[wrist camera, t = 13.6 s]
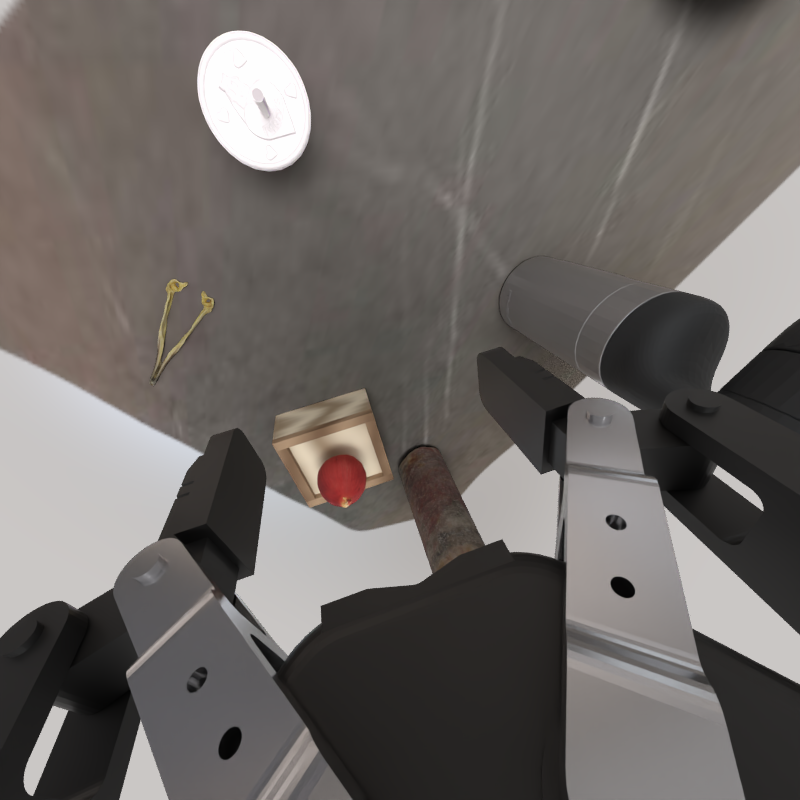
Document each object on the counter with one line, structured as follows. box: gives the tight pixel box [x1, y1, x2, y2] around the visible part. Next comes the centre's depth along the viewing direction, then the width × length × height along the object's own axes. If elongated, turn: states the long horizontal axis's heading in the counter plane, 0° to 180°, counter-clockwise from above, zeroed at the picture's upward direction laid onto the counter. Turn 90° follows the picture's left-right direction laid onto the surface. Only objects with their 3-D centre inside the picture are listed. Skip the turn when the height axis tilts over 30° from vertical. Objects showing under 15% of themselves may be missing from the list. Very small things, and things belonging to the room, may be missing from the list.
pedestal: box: [272, 388, 394, 507], centre depth 43 cm, size 12×12×6 cm
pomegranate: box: [317, 454, 367, 508], centre depth 38 cm, size 6×6×8 cm
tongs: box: [150, 279, 214, 386], centre depth 34 cm, size 4×13×2 cm, turn 149°
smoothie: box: [197, 31, 311, 172], centre depth 22 cm, size 6×6×14 cm
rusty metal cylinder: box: [399, 447, 485, 573], centre depth 44 cm, size 8×7×20 cm
